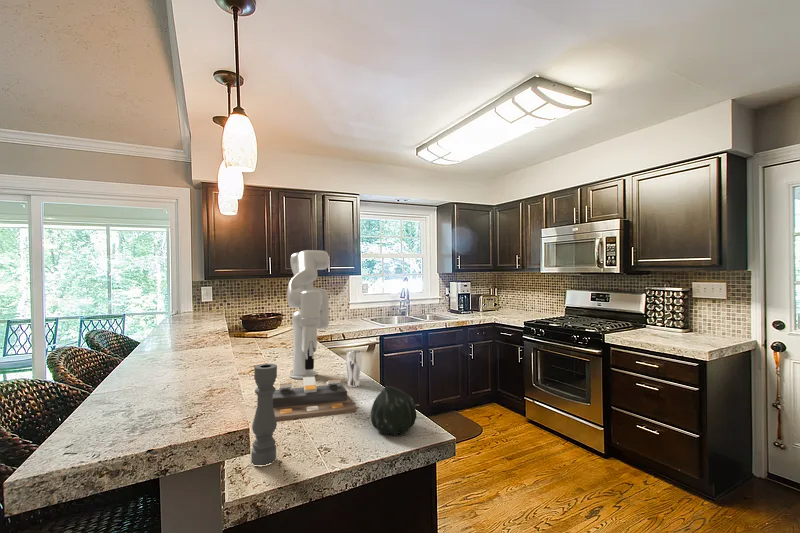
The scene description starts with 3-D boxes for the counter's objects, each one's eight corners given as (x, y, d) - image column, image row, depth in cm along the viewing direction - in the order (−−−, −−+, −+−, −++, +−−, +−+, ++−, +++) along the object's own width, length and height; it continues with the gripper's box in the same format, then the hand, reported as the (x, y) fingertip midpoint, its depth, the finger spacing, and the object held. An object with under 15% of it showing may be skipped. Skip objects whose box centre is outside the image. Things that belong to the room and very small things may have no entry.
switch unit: (268, 399, 144) (268, 384, 144) (344, 392, 154) (344, 378, 154) (267, 421, 123) (268, 403, 123) (355, 411, 133) (356, 395, 133)
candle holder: (261, 469, 93) (263, 370, 94) (246, 462, 96) (248, 366, 97) (281, 459, 98) (283, 365, 99) (265, 453, 102) (267, 362, 102)
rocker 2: (303, 380, 144) (303, 376, 144) (314, 379, 146) (314, 375, 146) (304, 392, 137) (304, 389, 137) (316, 391, 139) (316, 388, 138)
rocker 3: (326, 385, 147) (326, 381, 148) (337, 384, 149) (337, 380, 149) (329, 383, 140) (329, 379, 141) (340, 382, 142) (340, 378, 142)
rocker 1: (278, 389, 141) (278, 385, 142) (290, 388, 142) (290, 384, 143) (279, 388, 134) (279, 383, 134) (292, 387, 135) (292, 382, 136)
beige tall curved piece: (362, 383, 168) (363, 350, 168) (359, 388, 161) (360, 353, 161) (347, 382, 168) (348, 349, 168) (344, 387, 161) (344, 352, 162)
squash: (427, 407, 123) (398, 372, 125) (420, 427, 109) (388, 387, 111) (396, 432, 126) (368, 397, 128) (385, 454, 111) (354, 414, 113)
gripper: (298, 320, 150) (297, 365, 150) (302, 324, 136) (301, 374, 136) (317, 319, 153) (316, 364, 152) (322, 324, 139) (321, 373, 138)
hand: (309, 368), depth 144 cm, fingers closed
